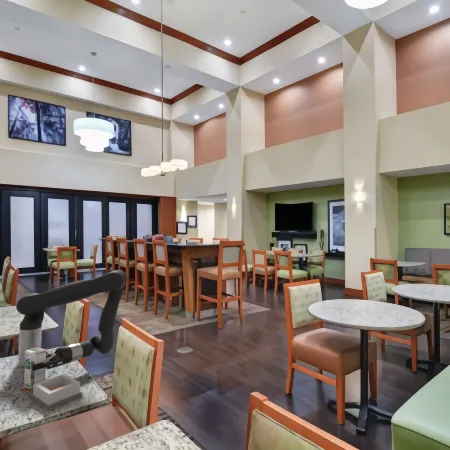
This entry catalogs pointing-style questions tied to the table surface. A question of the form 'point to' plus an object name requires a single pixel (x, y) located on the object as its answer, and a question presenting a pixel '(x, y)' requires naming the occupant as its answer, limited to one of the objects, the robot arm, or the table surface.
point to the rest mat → (25, 390)
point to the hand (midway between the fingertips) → (28, 365)
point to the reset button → (55, 388)
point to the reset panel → (55, 392)
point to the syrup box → (33, 358)
